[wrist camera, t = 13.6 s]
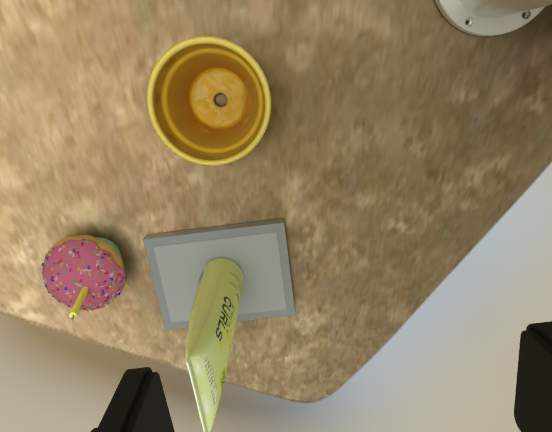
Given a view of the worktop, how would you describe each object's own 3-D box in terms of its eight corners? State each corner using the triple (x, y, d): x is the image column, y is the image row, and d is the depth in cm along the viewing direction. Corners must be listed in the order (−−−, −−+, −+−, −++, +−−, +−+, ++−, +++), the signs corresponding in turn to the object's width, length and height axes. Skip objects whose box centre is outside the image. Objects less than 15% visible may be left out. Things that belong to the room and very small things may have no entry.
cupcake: (148, 242, 48) (111, 294, 36) (121, 298, 50) (80, 364, 39) (76, 210, 46) (15, 254, 35) (53, 270, 49) (-12, 330, 37)
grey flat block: (283, 218, 47) (284, 222, 46) (294, 308, 51) (295, 315, 50) (146, 234, 47) (142, 239, 46) (167, 322, 51) (164, 330, 50)
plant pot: (290, 98, 43) (297, 104, 34) (224, 167, 45) (213, 190, 36) (217, 21, 40) (203, 5, 31) (150, 98, 43) (118, 104, 33)
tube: (256, 277, 48) (250, 403, 29) (229, 306, 49) (206, 445, 30) (218, 248, 46) (187, 361, 28) (191, 278, 48) (143, 406, 29)
